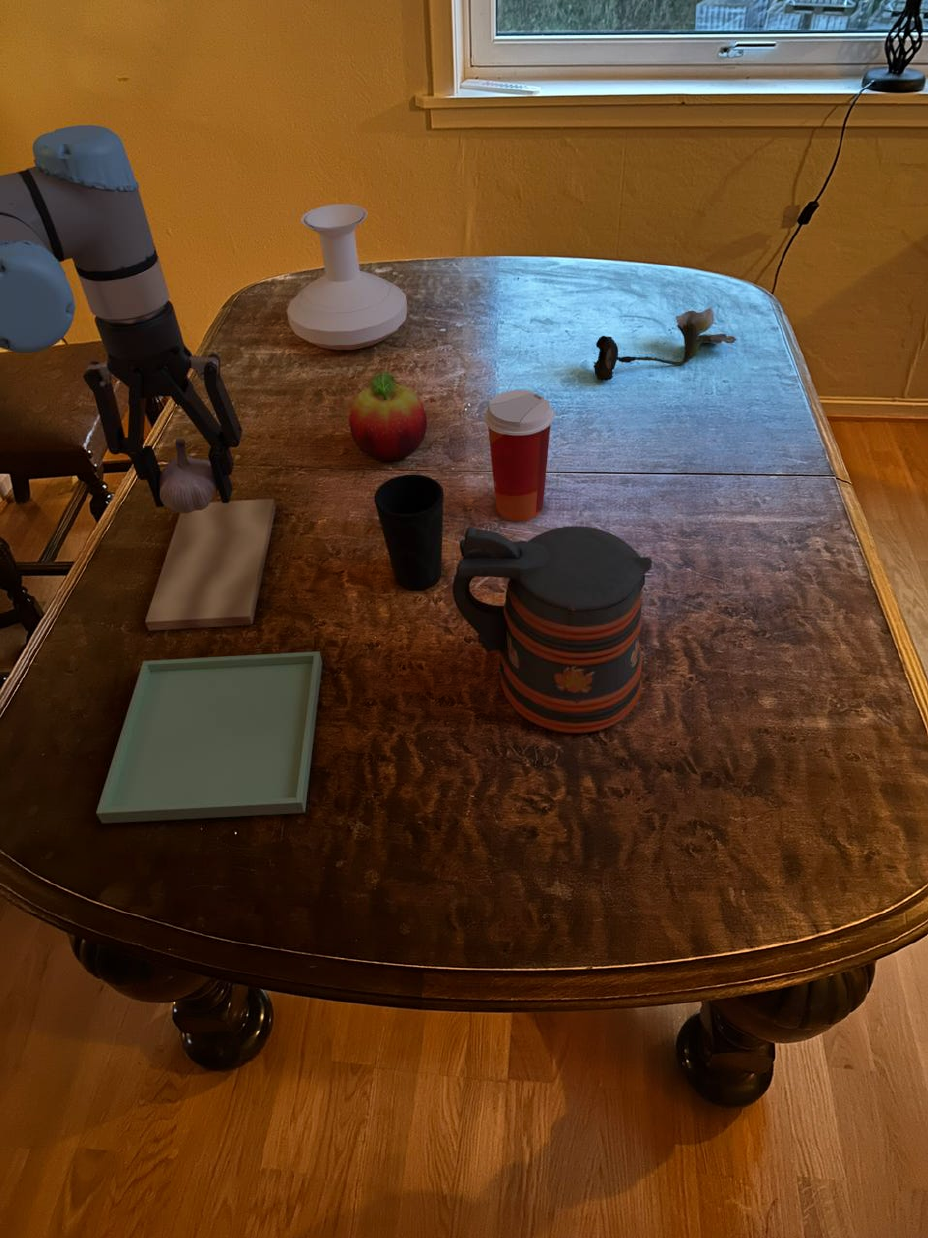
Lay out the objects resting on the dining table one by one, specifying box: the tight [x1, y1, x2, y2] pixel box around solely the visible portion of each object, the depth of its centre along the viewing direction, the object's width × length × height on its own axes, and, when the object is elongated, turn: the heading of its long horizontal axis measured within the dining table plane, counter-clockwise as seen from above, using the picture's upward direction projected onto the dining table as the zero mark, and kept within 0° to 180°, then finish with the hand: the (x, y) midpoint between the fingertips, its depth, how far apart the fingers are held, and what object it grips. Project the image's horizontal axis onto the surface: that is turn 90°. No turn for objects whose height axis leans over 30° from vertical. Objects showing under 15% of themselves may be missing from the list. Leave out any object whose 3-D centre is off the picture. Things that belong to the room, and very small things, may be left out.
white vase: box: [286, 203, 408, 351], centre depth 144 cm, size 20×20×19 cm
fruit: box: [348, 370, 428, 462], centre depth 122 cm, size 11×11×10 cm
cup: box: [373, 473, 445, 592], centre depth 102 cm, size 8×8×12 cm
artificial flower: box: [592, 306, 738, 382], centre depth 136 cm, size 9×22×10 cm, turn 106°
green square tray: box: [95, 651, 323, 824], centre depth 89 cm, size 19×19×2 cm
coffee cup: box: [484, 389, 555, 522], centre depth 109 cm, size 8×8×15 cm
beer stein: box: [452, 525, 653, 734], centre depth 86 cm, size 19×15×20 cm
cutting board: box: [144, 498, 277, 632], centre depth 109 cm, size 12×22×2 cm, turn 2°
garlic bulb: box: [159, 438, 219, 514], centre depth 99 cm, size 8×7×8 cm
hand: (195, 497), depth 102 cm, fingers closed on garlic bulb, 7 cm apart
